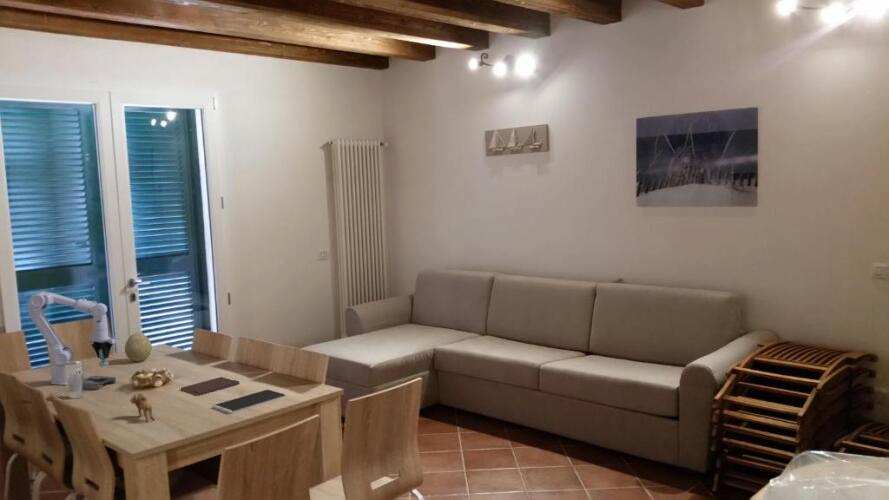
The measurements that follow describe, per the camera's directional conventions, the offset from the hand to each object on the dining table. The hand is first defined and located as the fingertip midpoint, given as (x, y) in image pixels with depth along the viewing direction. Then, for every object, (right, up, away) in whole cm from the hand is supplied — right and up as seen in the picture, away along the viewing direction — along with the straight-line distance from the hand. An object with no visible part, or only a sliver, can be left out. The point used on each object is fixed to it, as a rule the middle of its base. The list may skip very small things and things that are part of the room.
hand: (103, 357), depth 317 cm
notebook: (+57, -11, -19) cm, 61 cm away
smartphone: (+82, -12, -42) cm, 93 cm away
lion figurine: (+45, -14, -57) cm, 74 cm away
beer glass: (+2, -13, -26) cm, 29 cm away
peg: (0, -3, 0) cm, 3 cm away
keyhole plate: (+1, -11, -10) cm, 15 cm away
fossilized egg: (+2, -7, +33) cm, 34 cm away
